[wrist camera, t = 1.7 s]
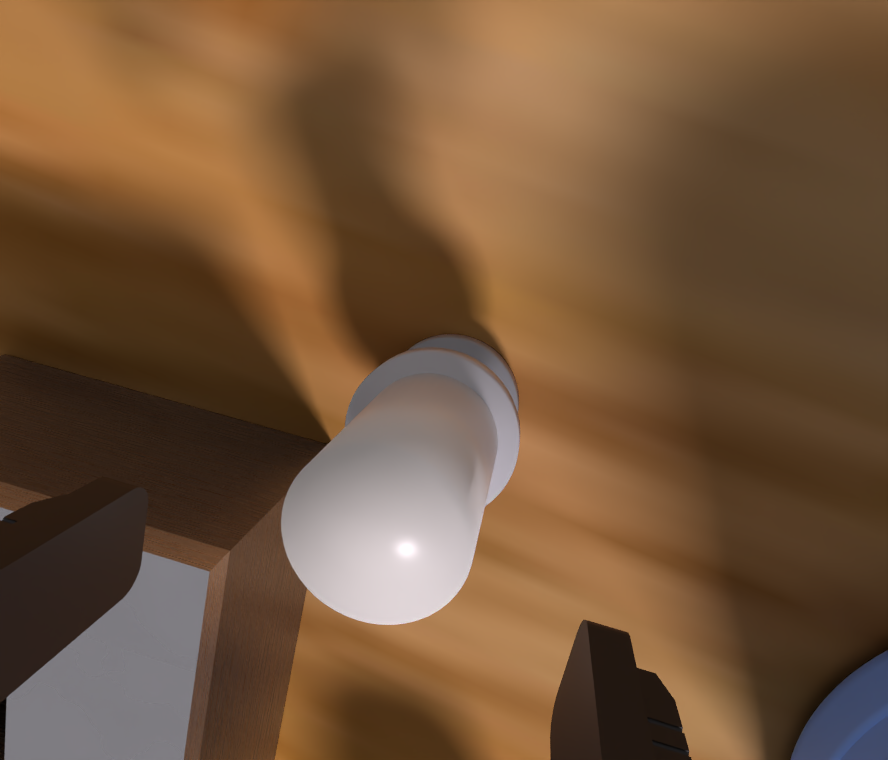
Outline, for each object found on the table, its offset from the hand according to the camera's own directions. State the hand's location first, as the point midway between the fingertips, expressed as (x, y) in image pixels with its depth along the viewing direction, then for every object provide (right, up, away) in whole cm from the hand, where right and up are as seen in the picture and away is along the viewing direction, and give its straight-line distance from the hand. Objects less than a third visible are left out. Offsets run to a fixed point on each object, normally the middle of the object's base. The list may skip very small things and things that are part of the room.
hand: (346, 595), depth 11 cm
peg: (+2, +3, +12) cm, 12 cm away
